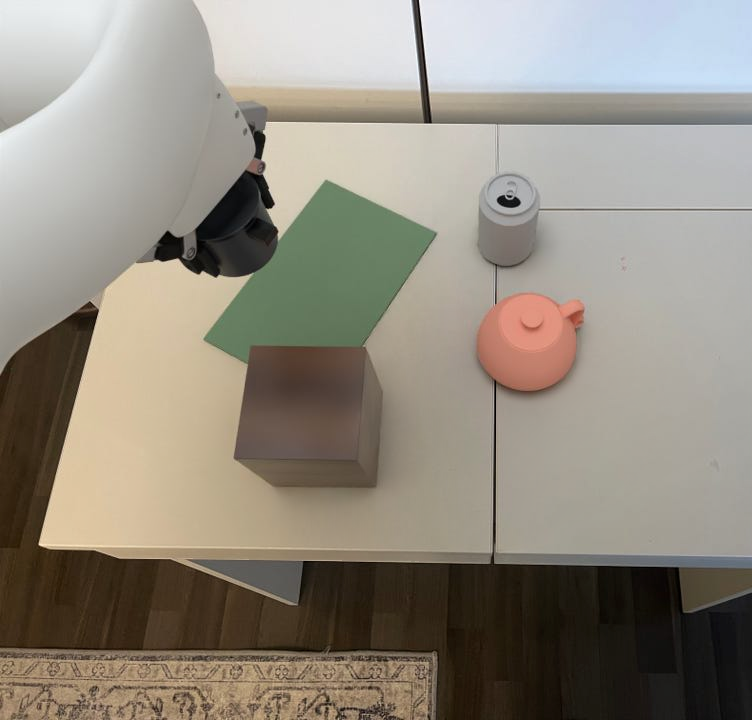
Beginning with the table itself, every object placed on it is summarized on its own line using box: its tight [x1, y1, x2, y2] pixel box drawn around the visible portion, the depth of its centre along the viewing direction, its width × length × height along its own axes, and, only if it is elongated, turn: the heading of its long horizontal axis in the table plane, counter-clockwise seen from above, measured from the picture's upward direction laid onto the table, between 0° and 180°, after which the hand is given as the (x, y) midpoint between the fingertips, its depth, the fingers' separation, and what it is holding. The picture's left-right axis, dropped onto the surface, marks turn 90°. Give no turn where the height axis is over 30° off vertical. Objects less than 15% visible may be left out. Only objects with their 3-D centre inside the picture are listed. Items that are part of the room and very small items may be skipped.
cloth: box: [202, 179, 438, 365], centre depth 86 cm, size 28×18×1 cm, turn 151°
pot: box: [196, 171, 280, 278], centre depth 56 cm, size 7×11×6 cm
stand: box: [233, 345, 384, 489], centre depth 72 cm, size 12×12×14 cm
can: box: [477, 170, 541, 267], centre depth 84 cm, size 8×8×12 cm
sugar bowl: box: [476, 292, 586, 392], centre depth 79 cm, size 12×14×10 cm
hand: (232, 233), depth 57 cm, fingers closed on pot, 7 cm apart
